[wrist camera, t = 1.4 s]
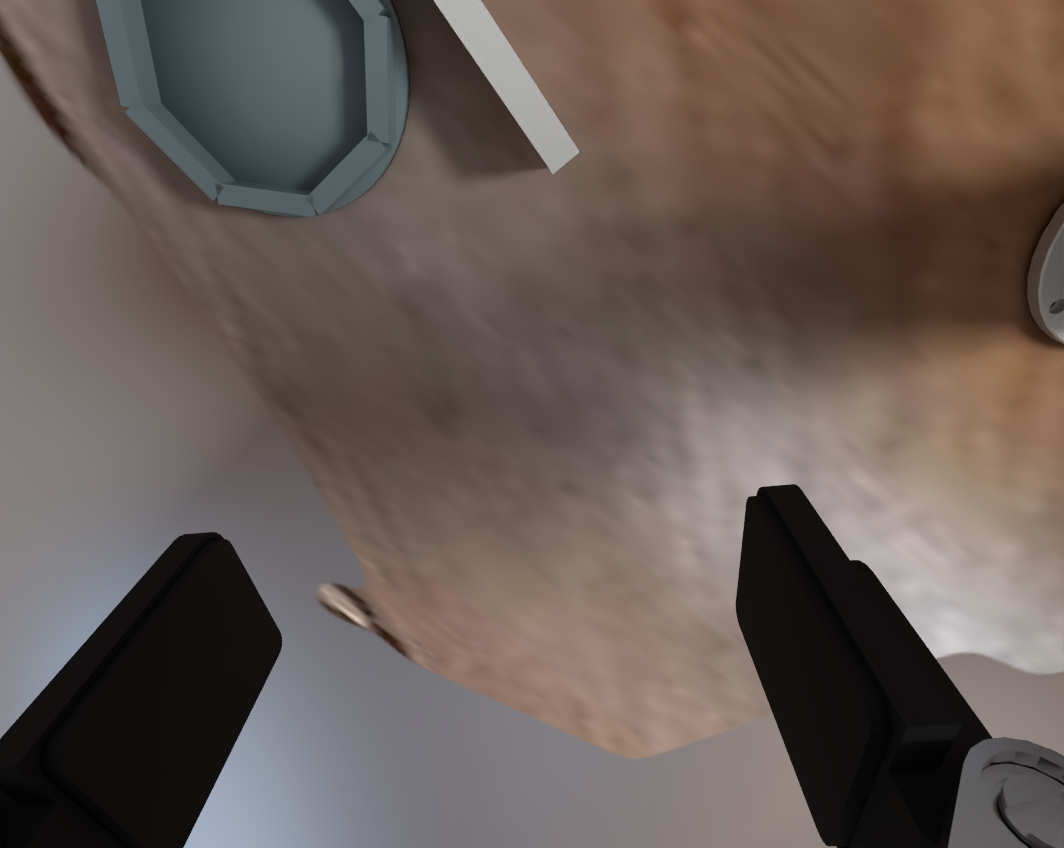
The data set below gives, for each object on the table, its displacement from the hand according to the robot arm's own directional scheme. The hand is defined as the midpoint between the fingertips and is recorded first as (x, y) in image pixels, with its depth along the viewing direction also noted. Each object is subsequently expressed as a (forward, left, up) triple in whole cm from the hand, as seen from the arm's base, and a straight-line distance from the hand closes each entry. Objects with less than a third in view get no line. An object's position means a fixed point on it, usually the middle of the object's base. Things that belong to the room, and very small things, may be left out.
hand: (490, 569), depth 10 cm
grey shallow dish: (+4, -15, -24) cm, 28 cm away
